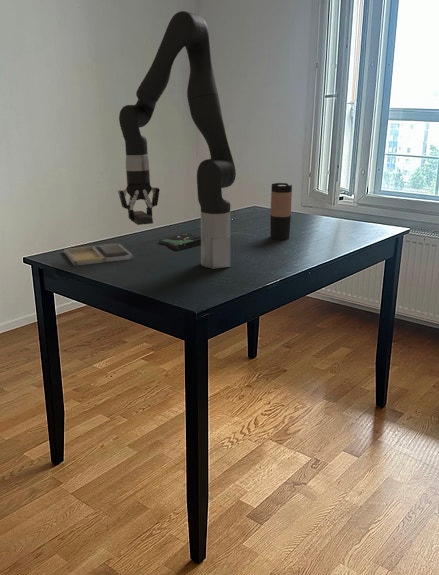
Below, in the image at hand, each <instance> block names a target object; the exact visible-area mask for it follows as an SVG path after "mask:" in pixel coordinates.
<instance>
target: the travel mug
mask: <svg viewBox="0 0 439 575" xmlns="http://www.w3.org/2000/svg"><path fill="white" fill-rule="evenodd" d="M292 194H293V184H291V185H289V183H287V182H277V183H275V182H274V183H272V184H271V193H270V196H271V198H270V216H269V217H270V226H269V227H270V232H269V234H270V236H269V237H270V239H273V240H277V241H278V240H280V241H282V240H283V241H284V240H288V239H290V232H291V218H292V198H293V197H292Z"/></svg>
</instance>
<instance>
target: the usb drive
mask: <svg viewBox="0 0 439 575" xmlns="http://www.w3.org/2000/svg"><path fill="white" fill-rule="evenodd" d="M153 219H154V218H153V216H152V217H151V216H150V215H148V214H147V212H144V211H143V210H137V211H136V210H134V221H132V222H133V223H134V224H136V225H137V226H139V225H152V224H154V220H153Z"/></svg>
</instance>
